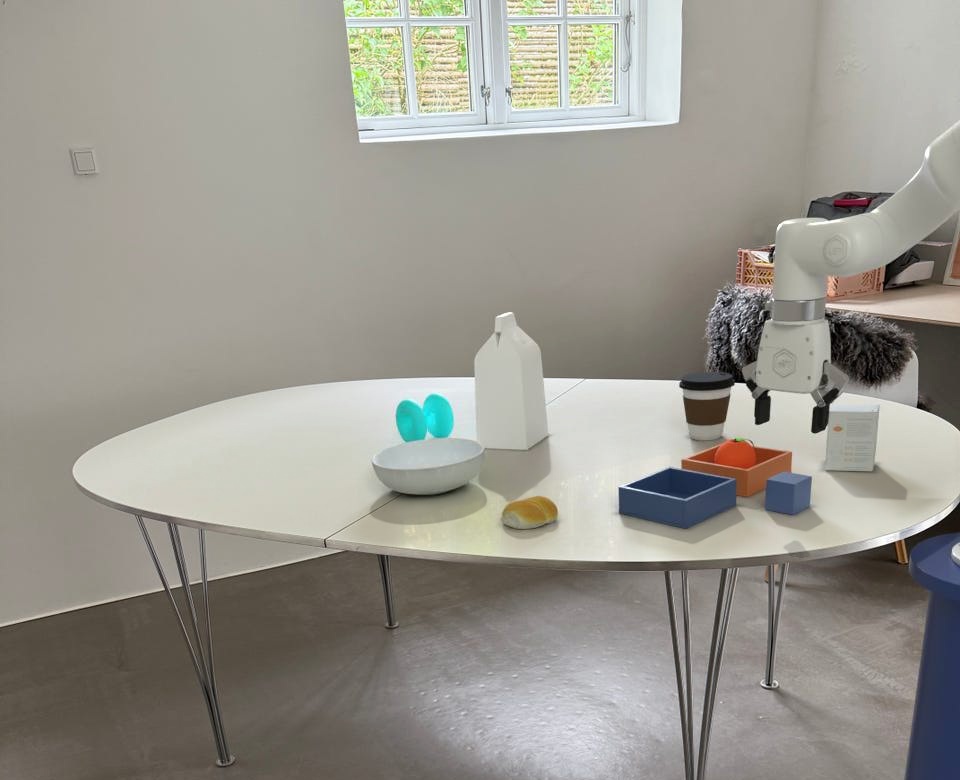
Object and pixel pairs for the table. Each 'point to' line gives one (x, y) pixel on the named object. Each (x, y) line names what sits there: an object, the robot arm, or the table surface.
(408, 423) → the cyan plastic rounded piece
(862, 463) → the small box
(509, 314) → the milk
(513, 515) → the bread roll
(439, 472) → the serving bowl
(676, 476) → the blue bin
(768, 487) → the blue block
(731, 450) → the clementine
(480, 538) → the table surface
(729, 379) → the coffee cup
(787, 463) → the terracotta bin
